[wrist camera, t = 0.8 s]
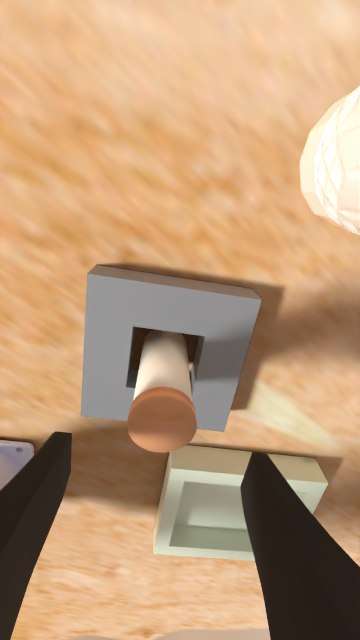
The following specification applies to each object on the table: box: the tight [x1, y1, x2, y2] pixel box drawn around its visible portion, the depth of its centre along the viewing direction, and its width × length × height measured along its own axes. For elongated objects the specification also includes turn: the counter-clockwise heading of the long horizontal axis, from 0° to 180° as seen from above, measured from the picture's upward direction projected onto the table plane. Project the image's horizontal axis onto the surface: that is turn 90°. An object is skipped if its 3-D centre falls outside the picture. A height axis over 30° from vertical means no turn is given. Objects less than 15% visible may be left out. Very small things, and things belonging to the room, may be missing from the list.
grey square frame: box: [81, 265, 262, 432], centre depth 20 cm, size 10×10×2 cm
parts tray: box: [153, 445, 328, 561], centre depth 26 cm, size 12×10×2 cm
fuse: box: [127, 329, 197, 453], centre depth 17 cm, size 3×3×8 cm
